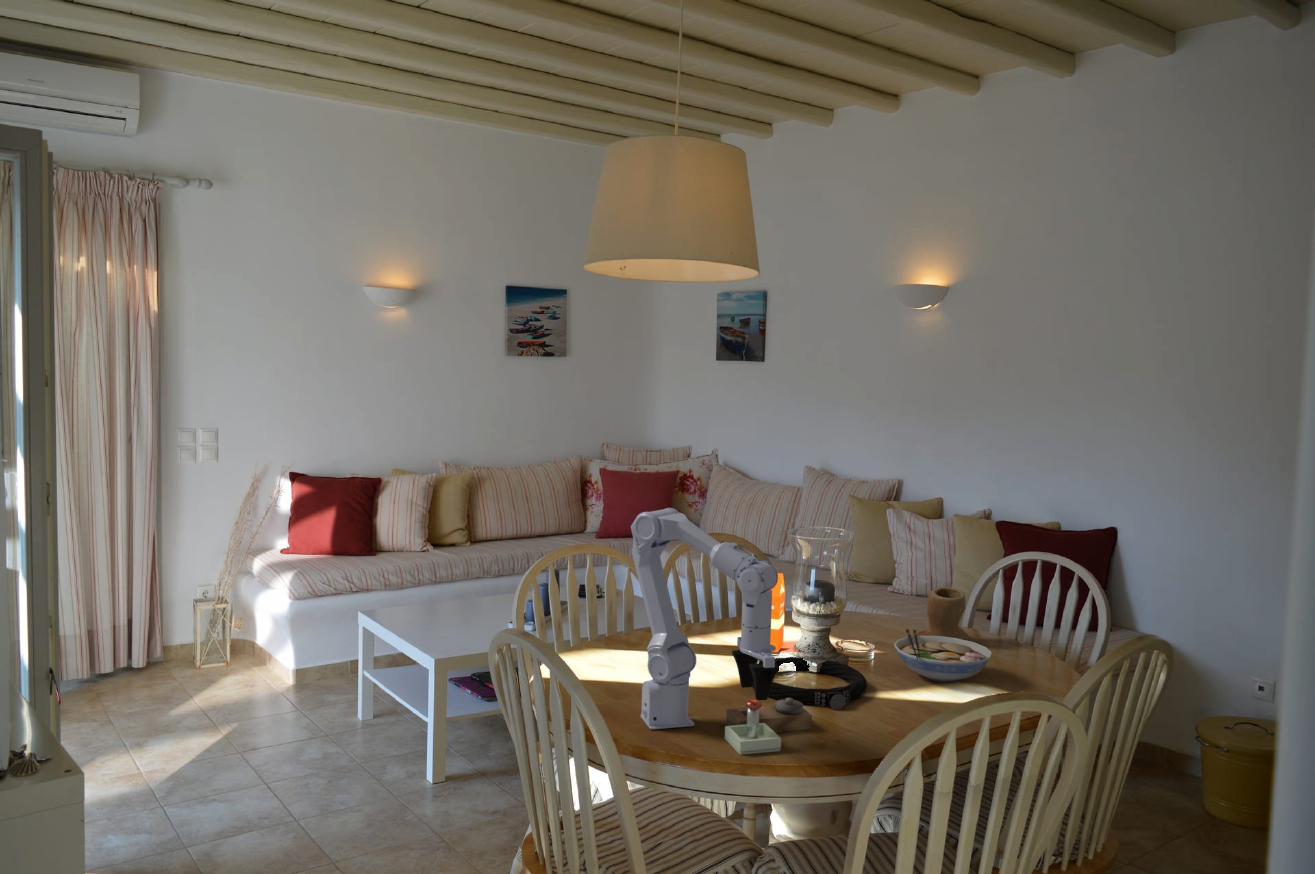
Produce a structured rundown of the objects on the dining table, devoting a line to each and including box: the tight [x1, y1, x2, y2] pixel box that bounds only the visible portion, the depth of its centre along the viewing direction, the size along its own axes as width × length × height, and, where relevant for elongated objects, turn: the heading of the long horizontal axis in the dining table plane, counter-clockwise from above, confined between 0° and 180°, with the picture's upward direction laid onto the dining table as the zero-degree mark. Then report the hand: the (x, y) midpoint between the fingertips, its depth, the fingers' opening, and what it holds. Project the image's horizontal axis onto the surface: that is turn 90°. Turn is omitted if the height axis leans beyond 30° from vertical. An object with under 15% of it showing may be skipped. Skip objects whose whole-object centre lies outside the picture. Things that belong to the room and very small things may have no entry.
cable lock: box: [751, 656, 868, 711], centre depth 229 cm, size 28×4×30 cm
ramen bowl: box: [893, 628, 993, 683], centre depth 239 cm, size 25×23×8 cm
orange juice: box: [766, 572, 786, 653], centre depth 262 cm, size 8×9×20 cm
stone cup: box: [916, 586, 969, 640], centre depth 270 cm, size 15×12×15 cm
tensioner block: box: [725, 698, 813, 733], centre depth 203 cm, size 16×7×5 cm, turn 106°
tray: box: [724, 723, 782, 755], centre depth 193 cm, size 8×8×2 cm
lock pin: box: [745, 698, 762, 740], centre depth 193 cm, size 3×3×8 cm
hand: (753, 693), depth 193 cm, fingers open, 7 cm apart
